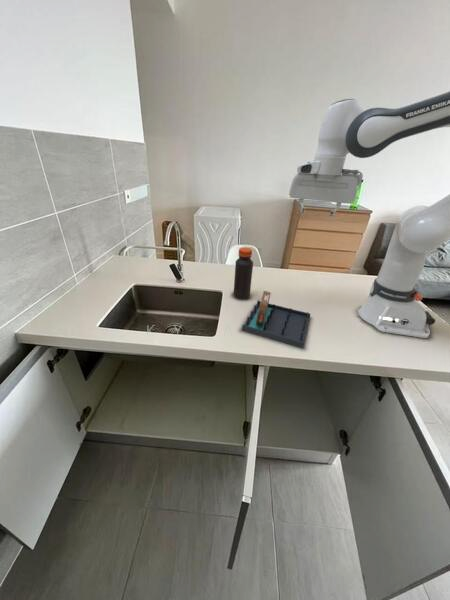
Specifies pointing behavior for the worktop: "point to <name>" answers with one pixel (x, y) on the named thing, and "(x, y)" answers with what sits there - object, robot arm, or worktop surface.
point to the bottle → (243, 274)
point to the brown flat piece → (263, 307)
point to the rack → (279, 324)
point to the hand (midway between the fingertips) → (316, 214)
